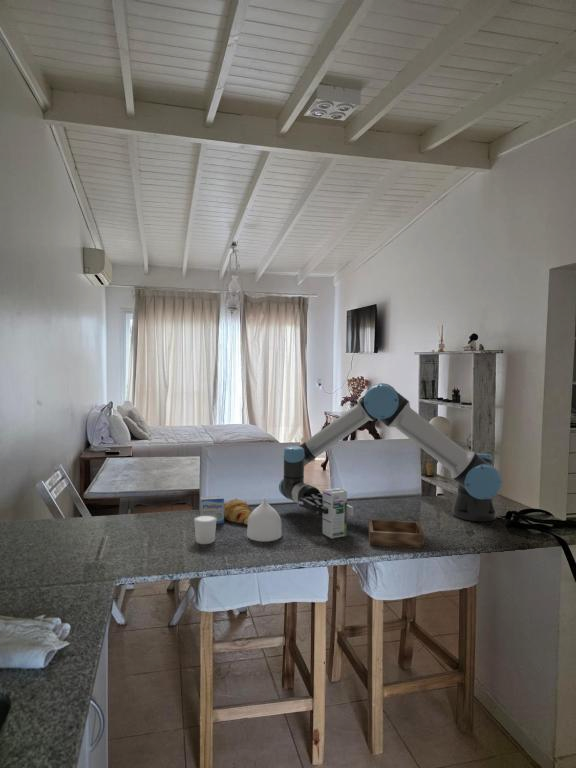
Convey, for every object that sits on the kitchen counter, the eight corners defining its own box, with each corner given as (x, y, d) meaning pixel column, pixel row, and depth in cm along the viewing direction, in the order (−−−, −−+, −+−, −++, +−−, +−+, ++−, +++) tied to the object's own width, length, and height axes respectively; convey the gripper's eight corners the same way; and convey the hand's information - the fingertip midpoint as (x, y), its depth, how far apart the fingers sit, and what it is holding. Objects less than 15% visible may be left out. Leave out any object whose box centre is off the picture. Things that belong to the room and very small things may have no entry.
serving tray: (418, 534, 163) (418, 521, 163) (423, 548, 150) (424, 534, 150) (368, 531, 165) (368, 519, 165) (369, 545, 152) (370, 531, 152)
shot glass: (220, 538, 156) (220, 516, 156) (209, 546, 150) (210, 522, 149) (200, 536, 158) (200, 513, 158) (189, 543, 152) (189, 520, 152)
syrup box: (331, 539, 157) (332, 493, 156) (321, 533, 162) (322, 488, 162) (346, 536, 160) (347, 491, 159) (336, 531, 165) (337, 487, 164)
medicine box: (200, 525, 169) (200, 499, 169) (199, 521, 173) (199, 496, 173) (224, 523, 171) (224, 498, 171) (222, 520, 175) (222, 495, 175)
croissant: (258, 535, 170) (267, 513, 172) (234, 526, 165) (245, 503, 167) (229, 518, 188) (238, 498, 189) (207, 509, 183) (217, 488, 184)
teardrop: (265, 527, 167) (266, 492, 167) (288, 536, 160) (289, 498, 159) (239, 535, 160) (240, 497, 159) (262, 544, 152) (263, 504, 152)
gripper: (329, 503, 181) (368, 520, 160) (282, 509, 172) (317, 528, 152) (329, 482, 181) (368, 497, 160) (283, 487, 172) (318, 504, 152)
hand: (343, 512), depth 156 cm, fingers closed on syrup box, 6 cm apart
